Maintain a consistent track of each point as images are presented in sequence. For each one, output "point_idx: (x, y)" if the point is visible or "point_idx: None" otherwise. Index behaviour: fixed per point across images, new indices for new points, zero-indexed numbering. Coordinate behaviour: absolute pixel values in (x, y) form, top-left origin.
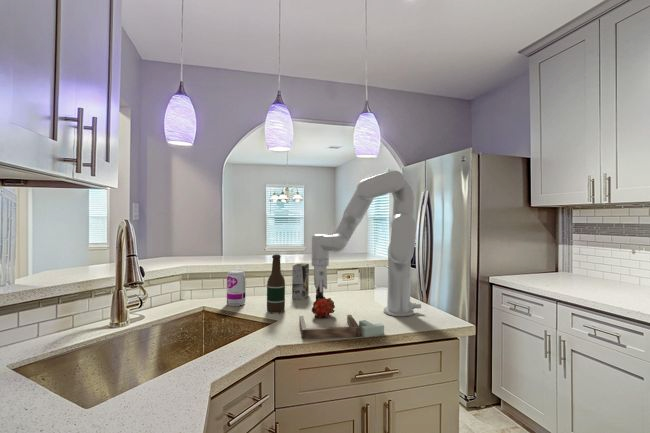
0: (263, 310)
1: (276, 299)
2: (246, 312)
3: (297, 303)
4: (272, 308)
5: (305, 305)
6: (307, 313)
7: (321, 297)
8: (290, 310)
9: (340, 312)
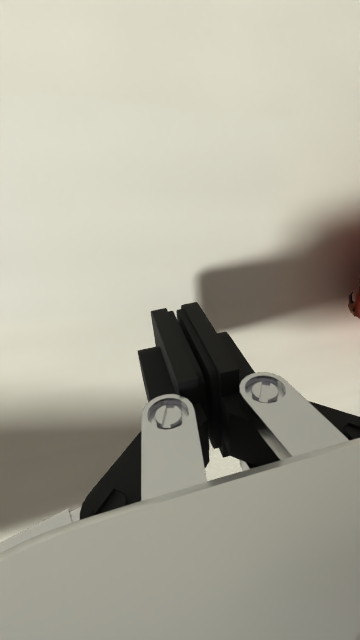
0: None
1: None
2: None
3: (8, 502)
4: None
5: (64, 439)
6: (299, 382)
7: (251, 372)
8: None
9: (331, 52)
